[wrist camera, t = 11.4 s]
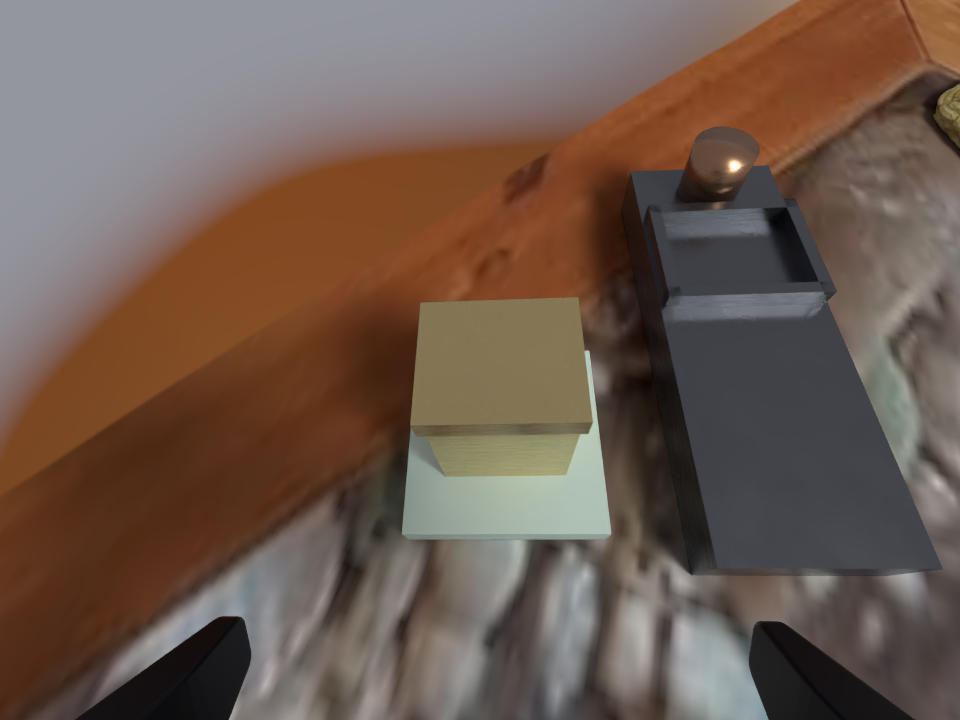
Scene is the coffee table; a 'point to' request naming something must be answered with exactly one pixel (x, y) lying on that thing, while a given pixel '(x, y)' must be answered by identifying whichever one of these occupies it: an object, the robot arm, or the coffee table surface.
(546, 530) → the sage mat
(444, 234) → the coffee table surface
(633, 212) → the plane body
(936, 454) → the coffee table surface
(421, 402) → the lever cap
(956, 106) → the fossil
